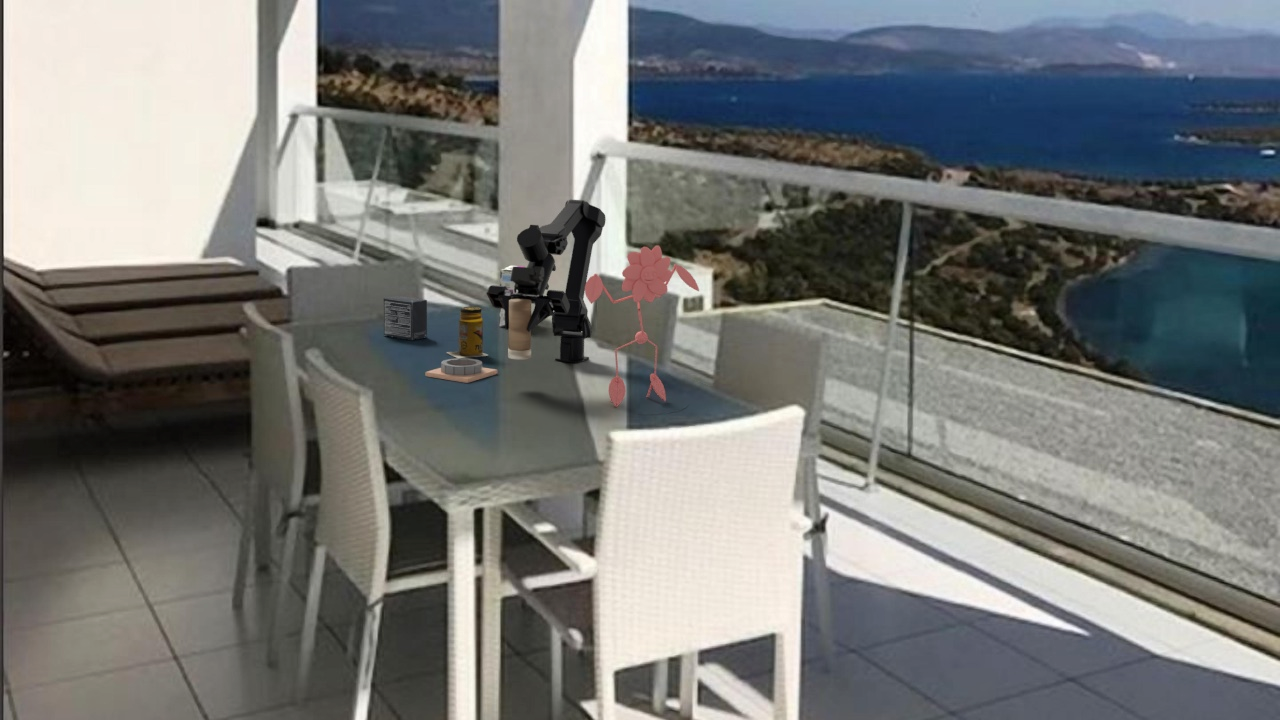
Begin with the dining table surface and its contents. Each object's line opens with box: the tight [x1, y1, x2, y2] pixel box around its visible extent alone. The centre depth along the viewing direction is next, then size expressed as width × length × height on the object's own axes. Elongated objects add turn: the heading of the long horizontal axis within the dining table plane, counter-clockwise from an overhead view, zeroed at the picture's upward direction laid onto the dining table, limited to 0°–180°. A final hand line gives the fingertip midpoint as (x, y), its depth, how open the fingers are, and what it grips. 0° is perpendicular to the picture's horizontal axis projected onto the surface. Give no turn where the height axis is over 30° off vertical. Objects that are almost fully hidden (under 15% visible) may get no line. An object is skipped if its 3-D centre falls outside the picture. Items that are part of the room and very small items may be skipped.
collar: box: [424, 357, 498, 384], centre depth 304 cm, size 12×12×3 cm
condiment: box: [446, 306, 489, 359], centre depth 326 cm, size 7×8×12 cm
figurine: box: [584, 245, 700, 408], centre depth 275 cm, size 15×26×35 cm, turn 118°
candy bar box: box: [498, 265, 526, 328], centre depth 369 cm, size 11×5×16 cm, turn 172°
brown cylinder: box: [507, 299, 532, 361], centre depth 292 cm, size 5×5×13 cm
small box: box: [383, 295, 428, 341], centre depth 347 cm, size 11×6×10 cm, turn 58°
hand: (517, 329), depth 290 cm, fingers closed on brown cylinder, 5 cm apart
